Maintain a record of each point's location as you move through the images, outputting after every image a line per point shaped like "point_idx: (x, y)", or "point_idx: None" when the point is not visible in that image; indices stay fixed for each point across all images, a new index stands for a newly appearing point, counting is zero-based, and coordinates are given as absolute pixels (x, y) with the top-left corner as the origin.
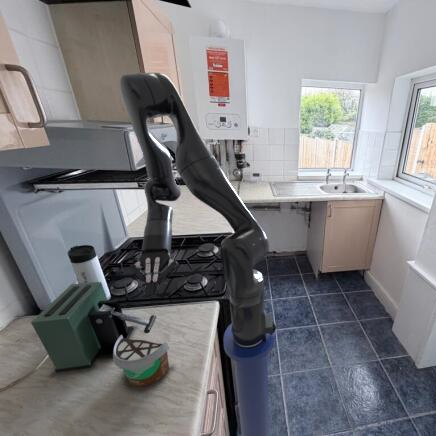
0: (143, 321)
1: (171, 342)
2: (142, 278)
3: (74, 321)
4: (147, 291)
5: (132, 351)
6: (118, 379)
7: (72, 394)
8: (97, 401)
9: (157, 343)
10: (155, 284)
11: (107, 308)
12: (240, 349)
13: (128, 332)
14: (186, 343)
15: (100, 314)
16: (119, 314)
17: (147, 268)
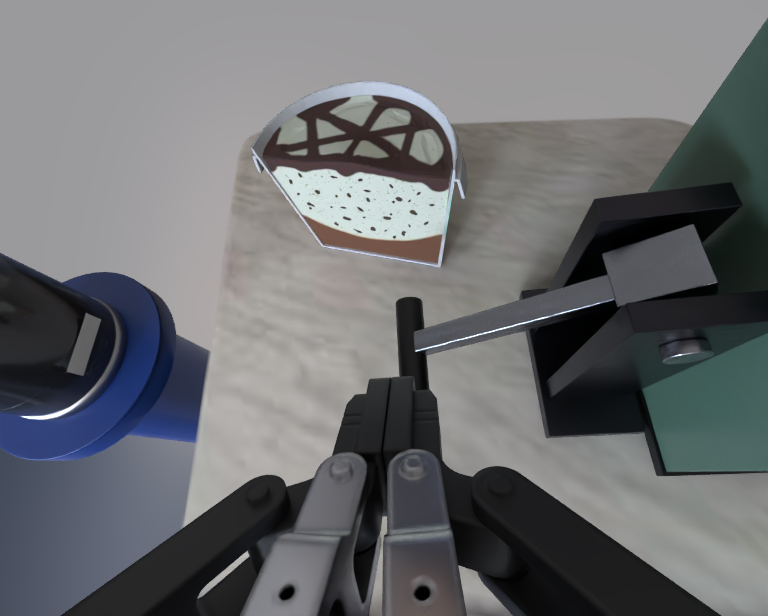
0: (435, 329)
1: (343, 345)
2: (487, 484)
3: (747, 86)
4: (420, 406)
5: (374, 130)
6: (466, 223)
7: (579, 187)
8: (488, 173)
9: (291, 160)
10: (349, 448)
11: (656, 271)
12: (113, 300)
13: (547, 395)
14: (286, 336)
15: (643, 194)
16: (565, 299)
17: (433, 610)
